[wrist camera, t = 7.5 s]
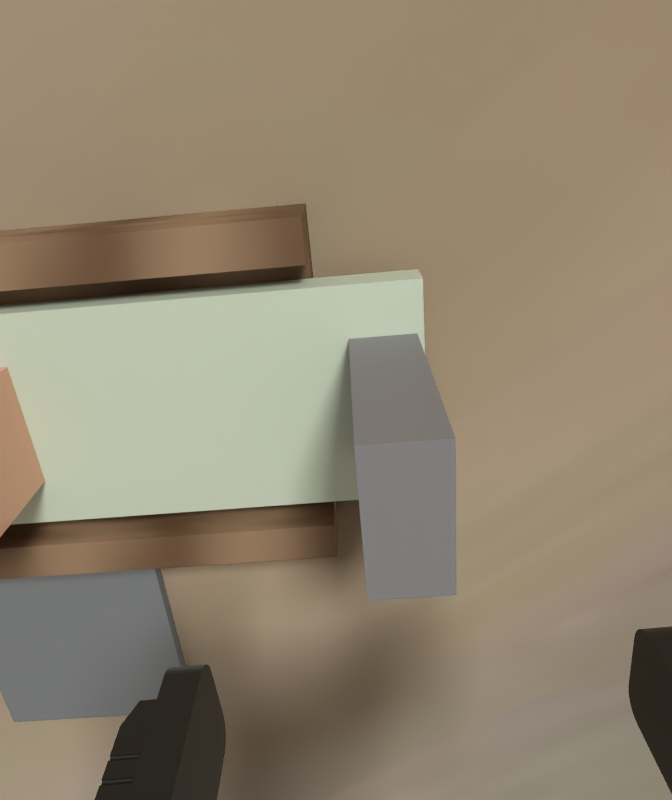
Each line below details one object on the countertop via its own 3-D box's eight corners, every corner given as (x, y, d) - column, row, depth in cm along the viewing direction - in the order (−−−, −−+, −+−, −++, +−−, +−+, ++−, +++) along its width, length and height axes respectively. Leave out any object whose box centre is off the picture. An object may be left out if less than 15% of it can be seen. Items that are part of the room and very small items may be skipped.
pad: (19, 712, 35) (14, 722, 34) (-42, 572, 31) (-49, 581, 30) (194, 701, 35) (192, 711, 34) (157, 558, 30) (154, 567, 30)
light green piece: (-72, 512, 28) (-256, 692, 19) (-157, 318, 24) (-434, 433, 15) (424, 476, 27) (465, 647, 18) (418, 269, 23) (465, 362, 14)
